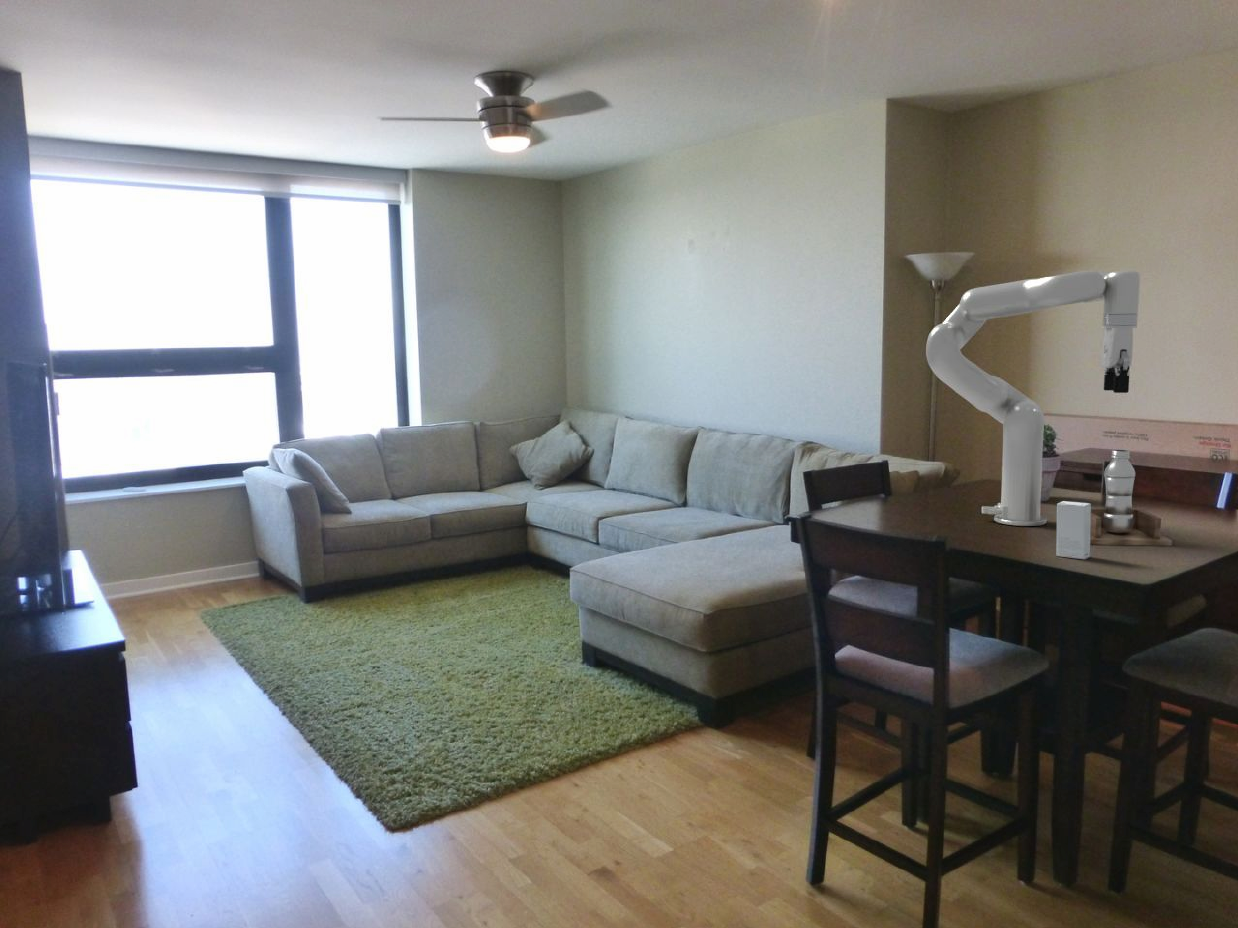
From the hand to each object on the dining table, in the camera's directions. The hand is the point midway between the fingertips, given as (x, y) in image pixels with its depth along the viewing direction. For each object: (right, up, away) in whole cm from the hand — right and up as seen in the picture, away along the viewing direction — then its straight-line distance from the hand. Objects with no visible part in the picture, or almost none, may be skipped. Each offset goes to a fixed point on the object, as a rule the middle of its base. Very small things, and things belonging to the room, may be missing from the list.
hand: (1115, 391), depth 229 cm
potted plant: (0, -29, +46) cm, 54 cm away
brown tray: (-4, -36, -8) cm, 37 cm away
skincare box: (-23, -39, -25) cm, 52 cm away
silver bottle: (-4, -35, -8) cm, 36 cm away
